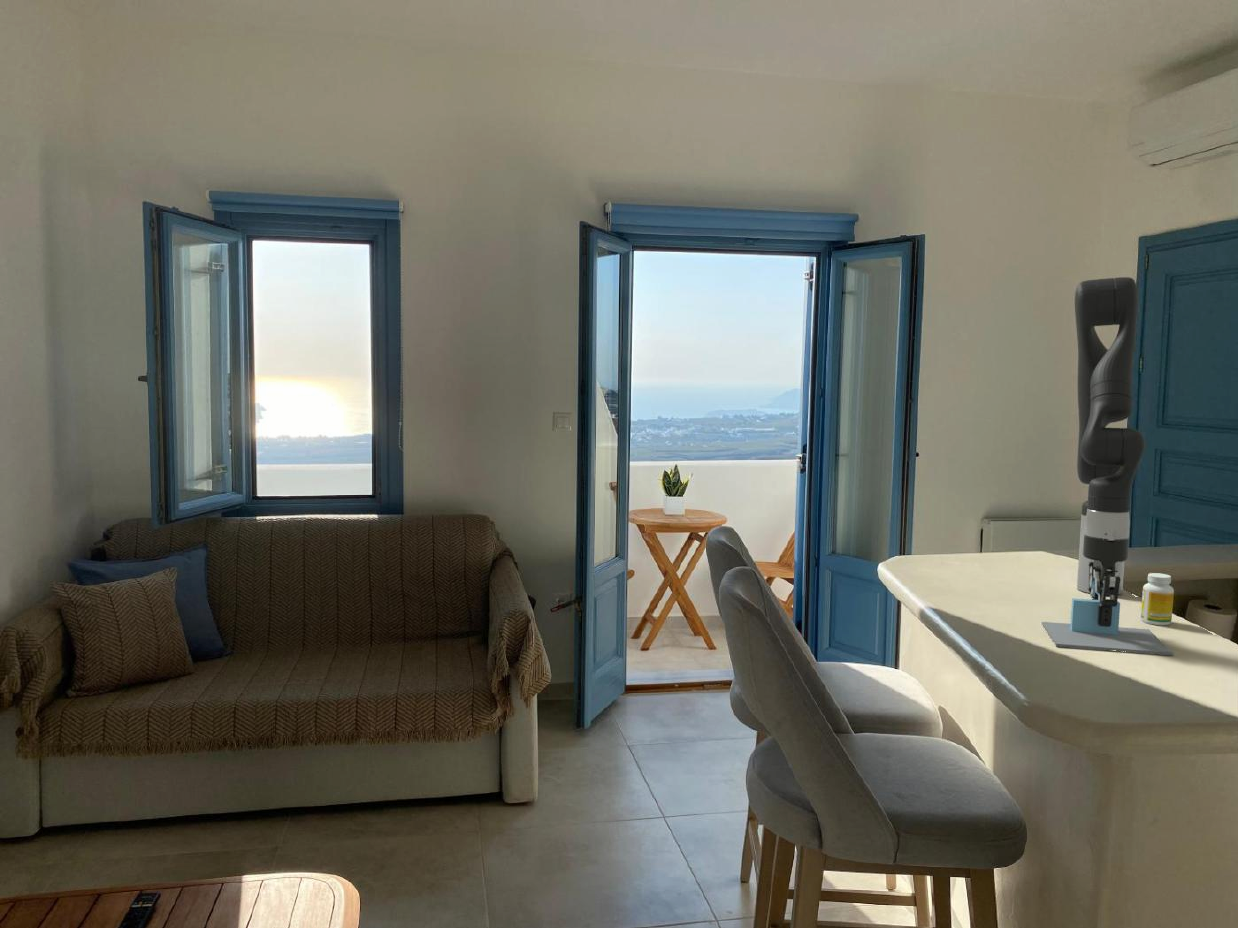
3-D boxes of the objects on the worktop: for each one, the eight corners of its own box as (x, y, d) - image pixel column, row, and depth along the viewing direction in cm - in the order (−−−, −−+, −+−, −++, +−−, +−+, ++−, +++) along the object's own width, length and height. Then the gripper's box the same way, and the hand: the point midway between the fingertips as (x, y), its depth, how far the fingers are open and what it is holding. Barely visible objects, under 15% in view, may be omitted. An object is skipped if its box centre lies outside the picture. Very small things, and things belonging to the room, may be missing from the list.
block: (1070, 628, 181) (1072, 598, 180) (1115, 632, 179) (1118, 601, 178) (1071, 631, 179) (1073, 600, 178) (1118, 634, 177) (1120, 603, 176)
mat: (1041, 624, 186) (1041, 621, 186) (1148, 632, 181) (1148, 629, 181) (1056, 646, 171) (1056, 643, 171) (1172, 655, 166) (1172, 652, 166)
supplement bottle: (1134, 619, 190) (1137, 572, 189) (1156, 617, 191) (1159, 571, 190) (1155, 626, 185) (1159, 578, 184) (1178, 624, 186) (1181, 577, 185)
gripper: (1076, 526, 185) (1071, 610, 186) (1093, 539, 171) (1087, 630, 173) (1118, 528, 183) (1113, 613, 185) (1139, 541, 169) (1132, 634, 171)
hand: (1100, 621), depth 179 cm, fingers open, 5 cm apart
